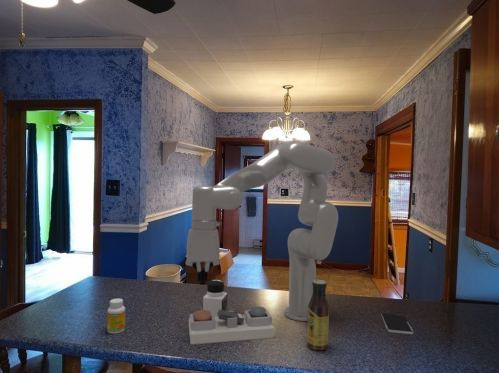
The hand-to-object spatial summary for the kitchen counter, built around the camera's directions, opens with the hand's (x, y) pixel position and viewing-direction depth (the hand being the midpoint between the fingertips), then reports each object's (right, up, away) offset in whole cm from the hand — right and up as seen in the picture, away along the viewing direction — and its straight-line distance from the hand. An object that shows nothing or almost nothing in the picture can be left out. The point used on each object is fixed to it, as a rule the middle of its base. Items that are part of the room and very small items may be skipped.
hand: (202, 283), depth 112 cm
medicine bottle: (+2, -16, +18) cm, 24 cm away
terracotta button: (0, -12, +1) cm, 12 cm away
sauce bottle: (+35, -18, -6) cm, 40 cm away
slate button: (+18, -12, +4) cm, 22 cm away
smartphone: (+66, -18, +12) cm, 69 cm away
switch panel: (+9, -17, +3) cm, 19 cm away
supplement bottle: (-28, -16, +3) cm, 33 cm away
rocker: (+9, -11, +2) cm, 15 cm away
